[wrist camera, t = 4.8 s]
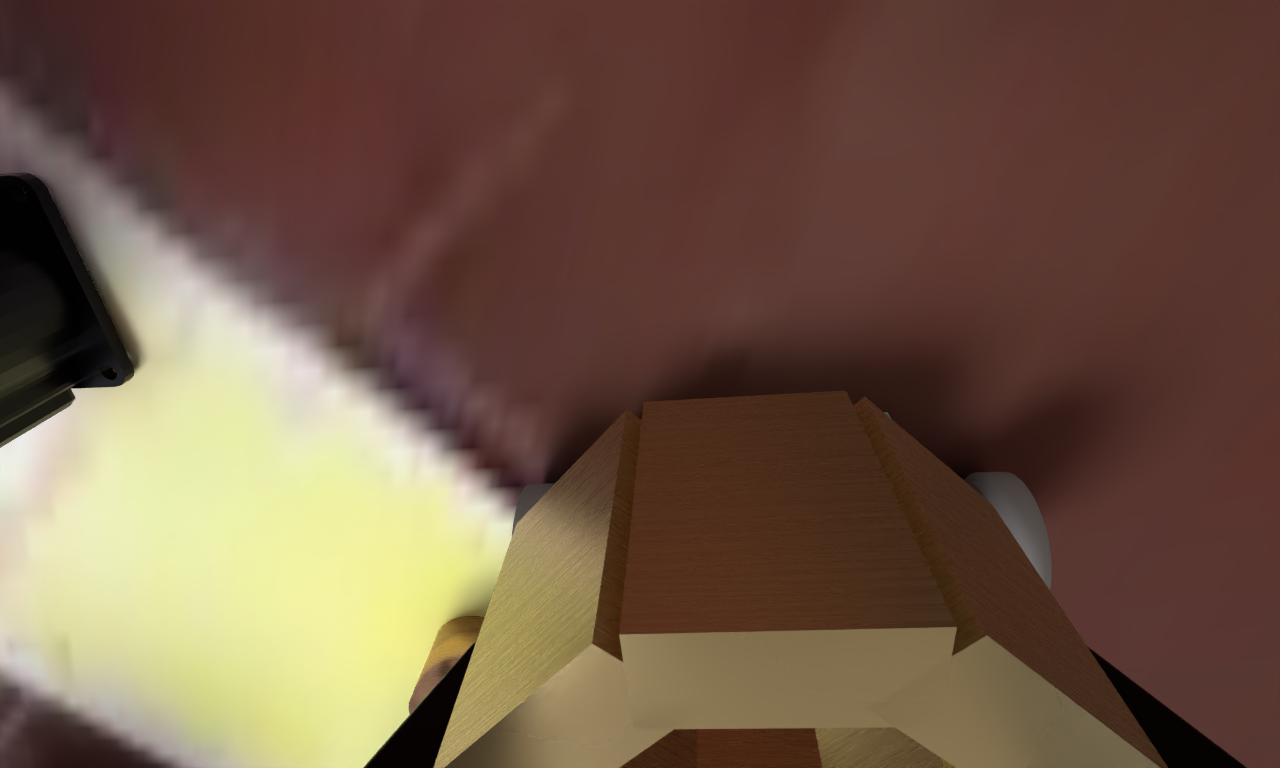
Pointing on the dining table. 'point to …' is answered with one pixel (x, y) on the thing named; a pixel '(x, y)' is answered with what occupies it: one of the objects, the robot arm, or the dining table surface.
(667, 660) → the nut
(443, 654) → the cap
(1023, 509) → the valve
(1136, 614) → the dining table surface
